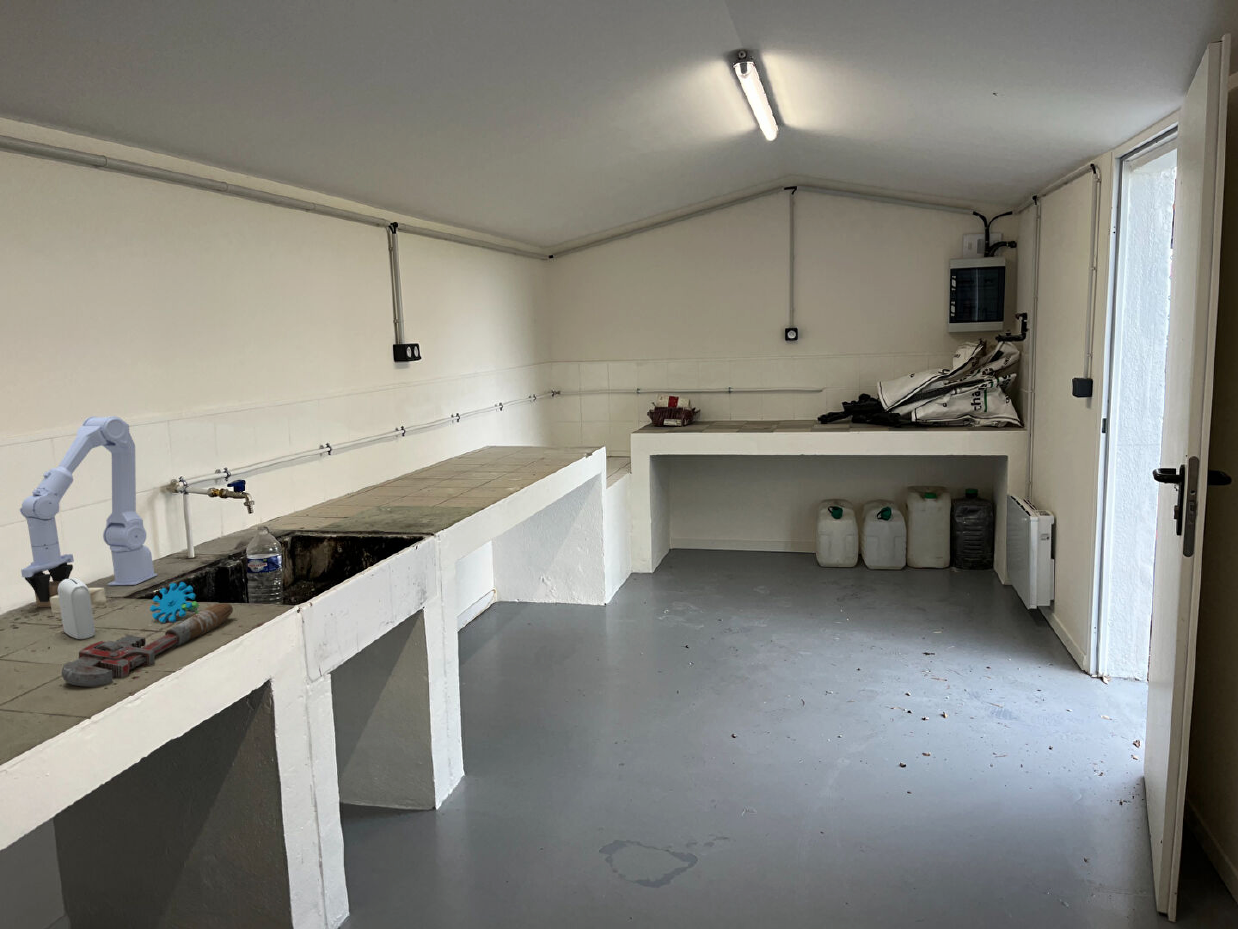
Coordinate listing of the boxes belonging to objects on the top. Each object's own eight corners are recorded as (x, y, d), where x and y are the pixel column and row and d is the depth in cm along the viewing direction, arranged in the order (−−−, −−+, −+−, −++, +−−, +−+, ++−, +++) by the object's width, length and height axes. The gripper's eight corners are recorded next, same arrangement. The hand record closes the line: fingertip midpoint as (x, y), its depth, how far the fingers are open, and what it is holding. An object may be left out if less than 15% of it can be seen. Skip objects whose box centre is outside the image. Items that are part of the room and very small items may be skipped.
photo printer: (61, 632, 197) (53, 577, 195) (83, 627, 200) (75, 573, 198) (76, 641, 190) (67, 585, 188) (98, 636, 193) (90, 580, 191)
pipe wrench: (104, 691, 161) (100, 665, 160) (46, 689, 164) (41, 663, 163) (242, 619, 200) (240, 597, 199) (193, 618, 203) (191, 597, 202)
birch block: (76, 604, 221) (74, 588, 220) (106, 603, 219) (104, 587, 219) (52, 614, 213) (49, 597, 212) (82, 613, 212) (80, 597, 211)
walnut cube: (52, 600, 224) (49, 581, 223) (70, 600, 223) (67, 581, 222) (37, 607, 219) (34, 587, 218) (55, 606, 218) (52, 586, 217)
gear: (140, 616, 200) (163, 577, 205) (154, 628, 205) (176, 589, 210) (181, 624, 197) (204, 584, 203) (195, 636, 202) (217, 597, 207)
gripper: (52, 537, 226) (60, 589, 228) (6, 551, 212) (15, 607, 214) (77, 536, 225) (85, 589, 227) (33, 551, 211) (42, 607, 213)
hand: (53, 598), depth 221 cm, fingers closed on walnut cube, 5 cm apart
